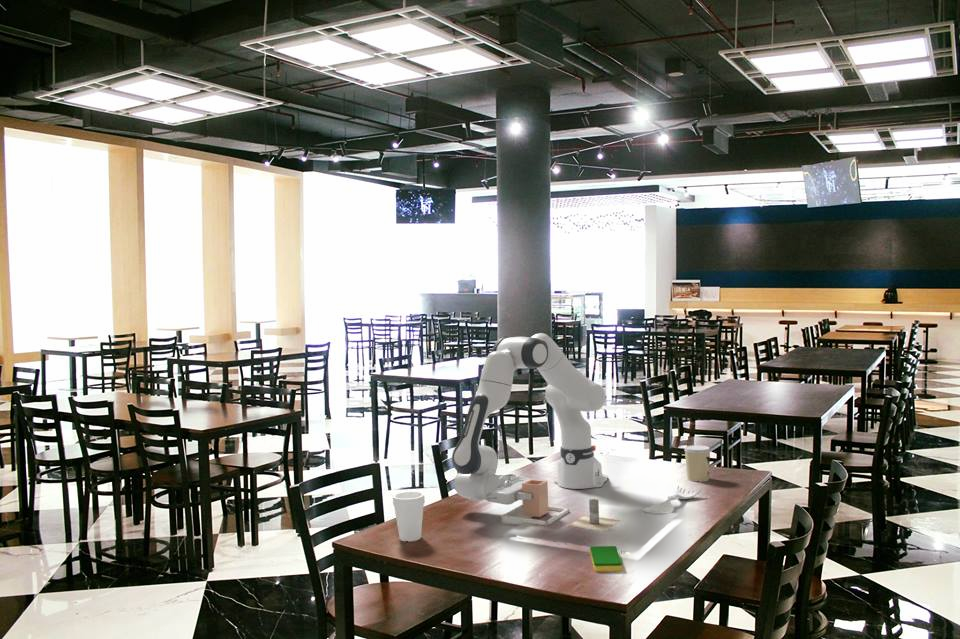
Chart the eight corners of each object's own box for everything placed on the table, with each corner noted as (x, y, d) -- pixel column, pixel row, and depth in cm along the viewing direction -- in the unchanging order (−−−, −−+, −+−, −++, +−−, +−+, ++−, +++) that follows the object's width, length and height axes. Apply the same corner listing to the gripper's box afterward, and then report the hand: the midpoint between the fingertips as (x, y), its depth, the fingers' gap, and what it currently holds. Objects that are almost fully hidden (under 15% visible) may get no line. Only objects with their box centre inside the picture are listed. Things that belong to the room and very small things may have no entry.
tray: (525, 510, 257) (525, 503, 257) (569, 516, 249) (569, 508, 249) (501, 523, 244) (501, 515, 243) (547, 530, 235) (547, 522, 235)
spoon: (702, 497, 266) (702, 487, 266) (665, 521, 241) (664, 510, 240) (677, 494, 272) (677, 484, 272) (638, 517, 246) (638, 506, 246)
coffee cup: (714, 482, 286) (713, 449, 285) (688, 482, 286) (687, 450, 285) (707, 476, 295) (706, 444, 295) (682, 476, 295) (681, 445, 295)
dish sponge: (594, 573, 200) (594, 563, 200) (590, 554, 214) (589, 546, 213) (622, 572, 199) (622, 563, 199) (616, 554, 213) (615, 545, 213)
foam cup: (399, 545, 226) (398, 501, 226) (390, 536, 235) (388, 493, 234) (430, 539, 230) (428, 496, 230) (420, 531, 238) (418, 489, 238)
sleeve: (531, 510, 250) (530, 479, 250) (548, 512, 247) (547, 481, 247) (522, 514, 245) (521, 483, 245) (539, 517, 242) (538, 485, 242)
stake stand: (584, 520, 244) (583, 493, 244) (620, 524, 238) (619, 497, 238) (568, 530, 234) (567, 502, 234) (605, 536, 228) (604, 507, 227)
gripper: (483, 486, 244) (521, 491, 236) (514, 472, 261) (551, 476, 254) (483, 506, 244) (522, 511, 237) (514, 491, 261) (551, 495, 254)
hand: (537, 493), depth 245 cm, fingers closed on sleeve, 6 cm apart
